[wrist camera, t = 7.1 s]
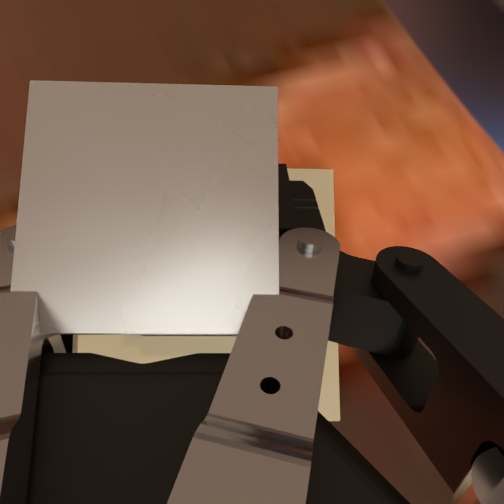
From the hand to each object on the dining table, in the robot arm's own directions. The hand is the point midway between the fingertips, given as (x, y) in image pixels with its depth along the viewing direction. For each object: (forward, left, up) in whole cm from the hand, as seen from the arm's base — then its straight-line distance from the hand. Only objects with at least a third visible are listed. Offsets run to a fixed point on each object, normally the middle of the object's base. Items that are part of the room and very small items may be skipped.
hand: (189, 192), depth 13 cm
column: (0, -2, -9) cm, 9 cm away
